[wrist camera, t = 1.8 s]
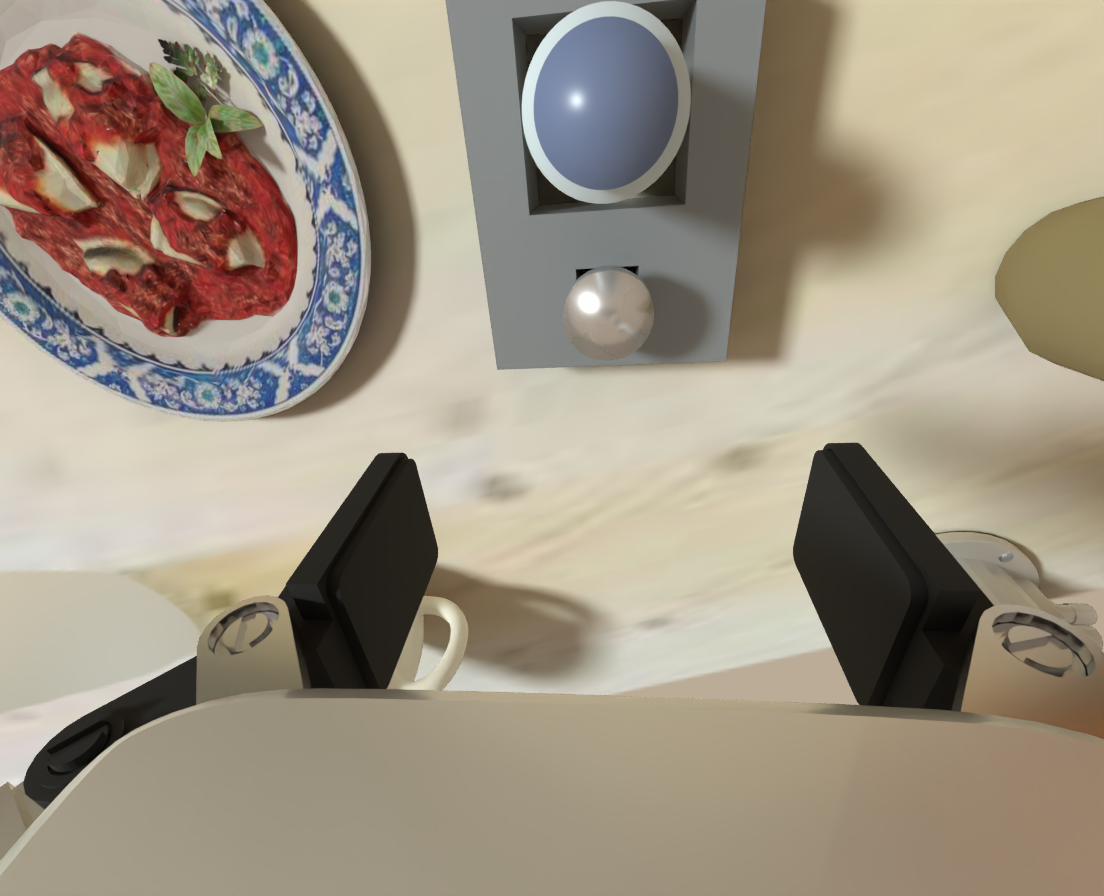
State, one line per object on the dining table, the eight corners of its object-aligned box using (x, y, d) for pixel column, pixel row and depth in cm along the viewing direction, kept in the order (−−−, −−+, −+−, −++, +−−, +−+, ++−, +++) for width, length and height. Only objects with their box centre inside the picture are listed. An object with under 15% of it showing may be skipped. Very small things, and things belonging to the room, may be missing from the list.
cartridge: (659, 49, 23) (704, -22, 12) (655, 174, 25) (690, 202, 15) (548, 60, 23) (505, 2, 13) (556, 182, 26) (525, 214, 16)
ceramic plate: (174, 453, 38) (143, 476, 35) (-198, 67, 26) (-282, 60, 24) (467, 319, 30) (455, 336, 28) (127, -300, 19) (55, -367, 16)
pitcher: (508, 613, 44) (474, 786, 32) (331, 639, 48) (244, 802, 36) (459, 517, 38) (396, 683, 27) (265, 556, 43) (138, 715, 31)
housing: (466, -2, 22) (441, -26, 19) (746, -36, 21) (773, -68, 18) (508, 343, 31) (497, 369, 27) (711, 335, 29) (725, 361, 26)
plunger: (647, 247, 25) (655, 268, 21) (645, 326, 27) (652, 358, 23) (566, 252, 25) (560, 273, 22) (570, 330, 27) (565, 361, 24)
